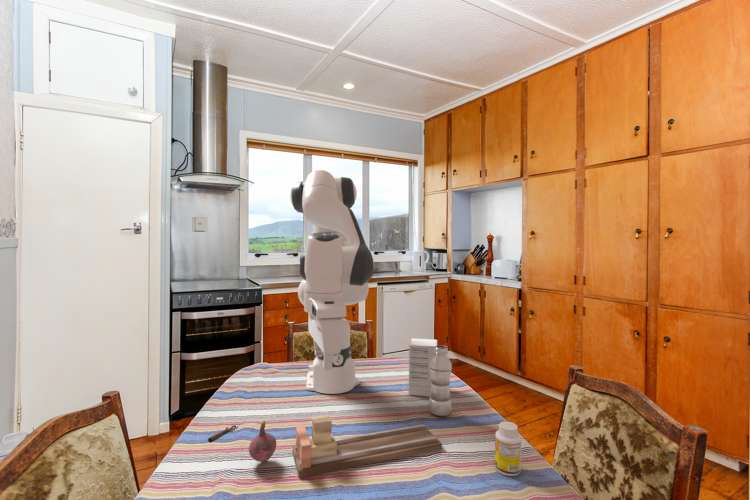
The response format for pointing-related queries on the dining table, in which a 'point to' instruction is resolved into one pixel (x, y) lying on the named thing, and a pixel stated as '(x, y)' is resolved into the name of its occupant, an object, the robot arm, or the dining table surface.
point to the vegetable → (262, 445)
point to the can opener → (221, 433)
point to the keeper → (322, 438)
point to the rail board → (364, 449)
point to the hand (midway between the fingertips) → (322, 362)
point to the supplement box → (420, 366)
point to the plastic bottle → (440, 382)
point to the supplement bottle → (508, 449)
